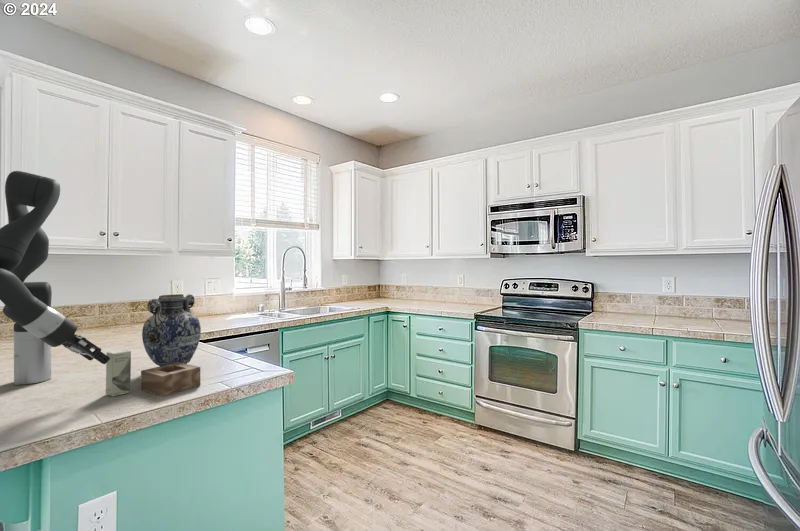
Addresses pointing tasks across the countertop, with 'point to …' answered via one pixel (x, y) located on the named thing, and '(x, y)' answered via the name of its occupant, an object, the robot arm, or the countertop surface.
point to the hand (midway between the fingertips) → (100, 359)
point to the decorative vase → (171, 330)
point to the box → (118, 372)
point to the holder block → (170, 378)
